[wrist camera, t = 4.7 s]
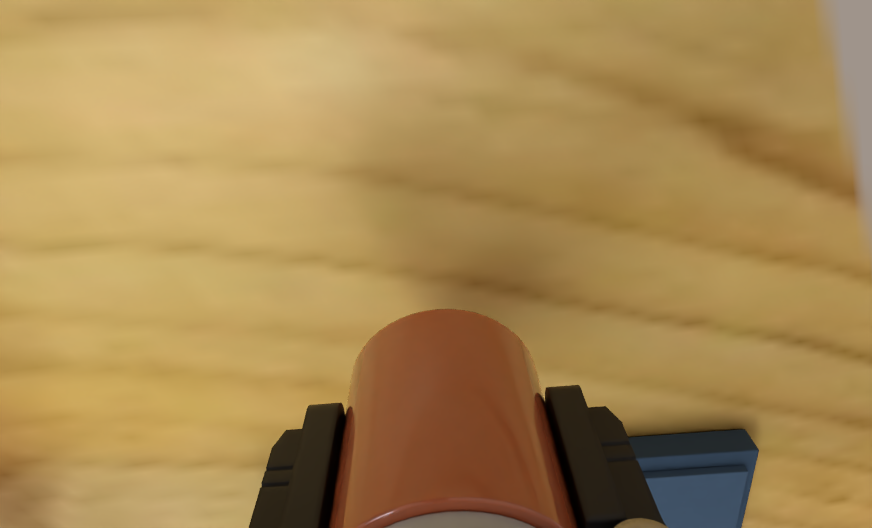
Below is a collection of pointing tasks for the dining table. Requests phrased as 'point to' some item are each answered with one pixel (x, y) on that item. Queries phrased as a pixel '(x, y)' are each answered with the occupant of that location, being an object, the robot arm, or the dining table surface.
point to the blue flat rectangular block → (698, 476)
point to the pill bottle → (448, 431)
